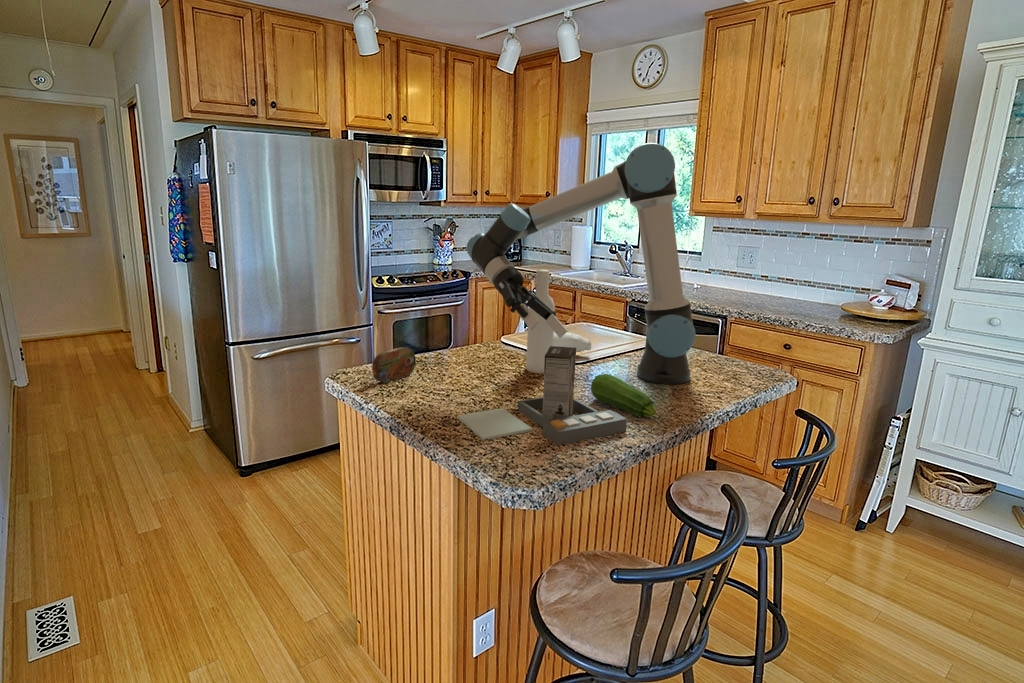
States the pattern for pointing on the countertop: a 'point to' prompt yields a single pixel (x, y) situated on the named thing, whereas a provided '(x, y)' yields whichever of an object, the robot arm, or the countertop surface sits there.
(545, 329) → the bottle
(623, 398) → the vegetable
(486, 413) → the sage mat
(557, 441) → the frame
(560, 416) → the coffee box
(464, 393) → the countertop surface
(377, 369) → the tin
